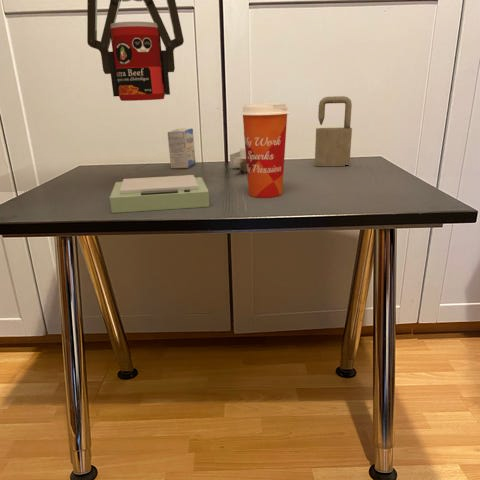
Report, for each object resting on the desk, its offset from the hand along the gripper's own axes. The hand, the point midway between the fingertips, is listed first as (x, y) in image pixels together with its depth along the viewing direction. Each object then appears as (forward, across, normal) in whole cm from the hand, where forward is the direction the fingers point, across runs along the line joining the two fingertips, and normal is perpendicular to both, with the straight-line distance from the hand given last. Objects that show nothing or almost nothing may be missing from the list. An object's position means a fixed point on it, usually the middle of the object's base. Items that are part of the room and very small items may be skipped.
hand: (142, 95), depth 81 cm
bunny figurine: (+17, -23, -23) cm, 36 cm away
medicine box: (+17, -8, -35) cm, 39 cm away
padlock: (+17, -43, -23) cm, 52 cm away
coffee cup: (+17, -20, +4) cm, 27 cm away
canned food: (+1, 0, 0) cm, 1 cm away
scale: (+17, -1, +4) cm, 18 cm away
